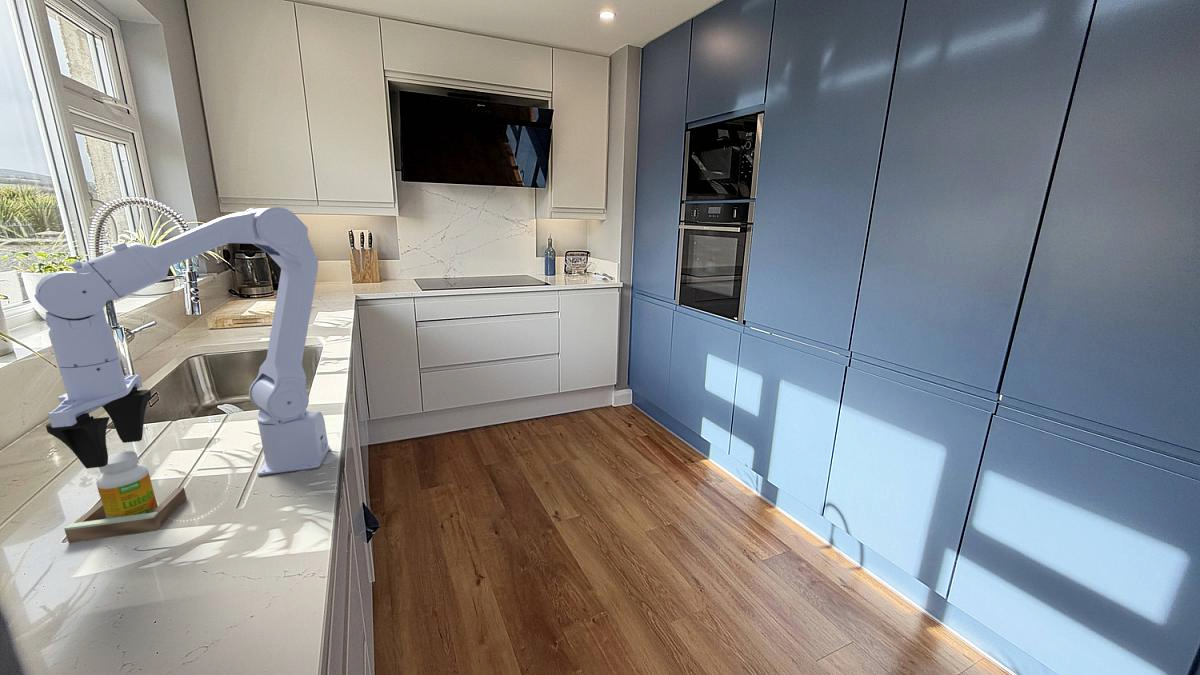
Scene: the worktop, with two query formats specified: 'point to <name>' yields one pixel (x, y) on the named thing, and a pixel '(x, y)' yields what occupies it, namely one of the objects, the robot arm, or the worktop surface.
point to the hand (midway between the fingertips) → (115, 453)
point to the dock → (122, 520)
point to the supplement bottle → (125, 486)
